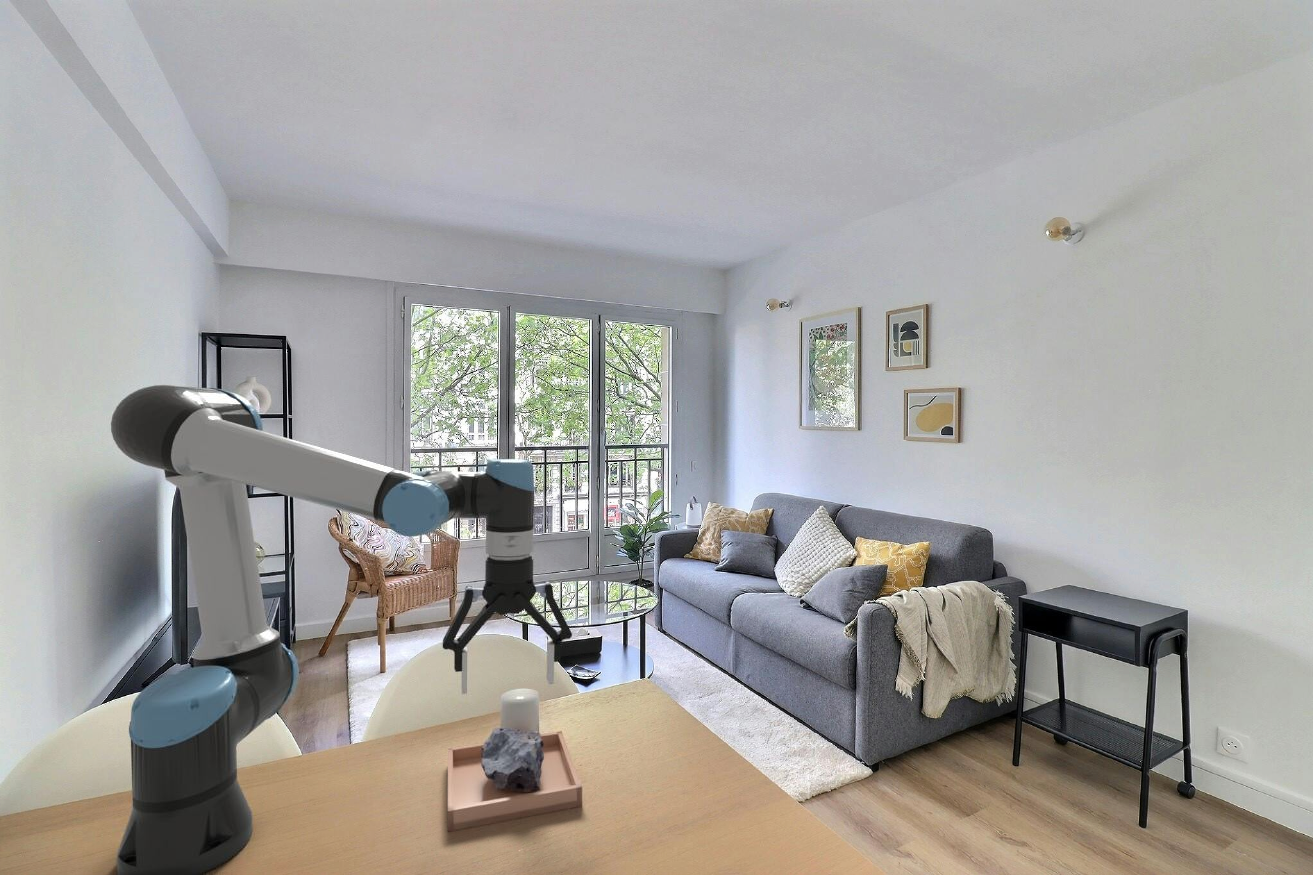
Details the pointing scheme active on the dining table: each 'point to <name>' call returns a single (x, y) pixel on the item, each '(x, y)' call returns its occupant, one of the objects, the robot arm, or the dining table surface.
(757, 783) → the dining table surface
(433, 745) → the dining table surface
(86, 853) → the dining table surface
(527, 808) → the dish
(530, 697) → the white rounded cylinder
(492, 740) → the rock
